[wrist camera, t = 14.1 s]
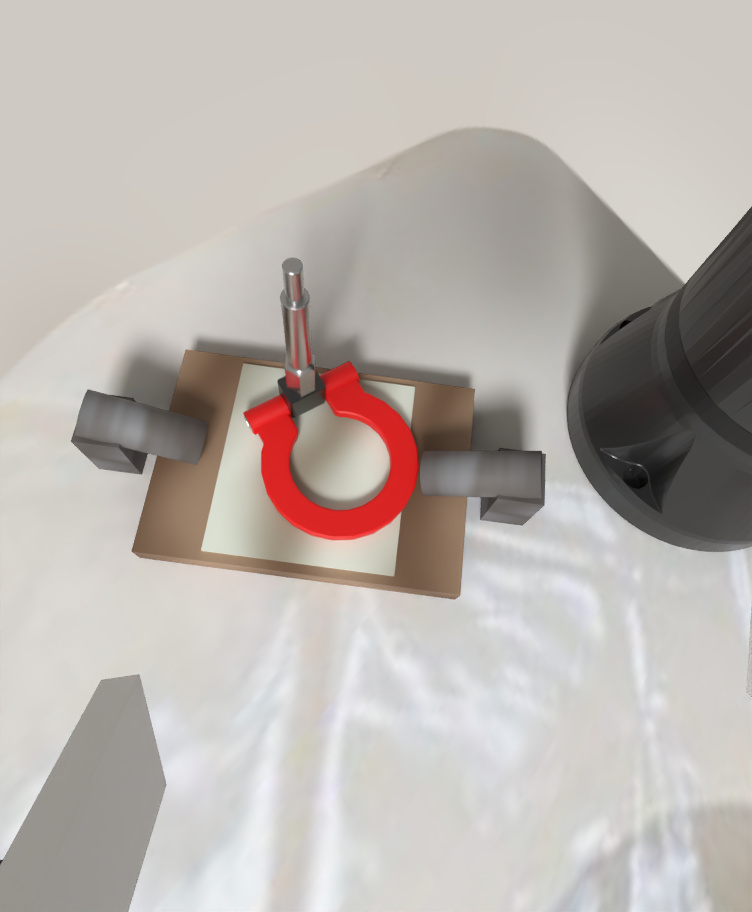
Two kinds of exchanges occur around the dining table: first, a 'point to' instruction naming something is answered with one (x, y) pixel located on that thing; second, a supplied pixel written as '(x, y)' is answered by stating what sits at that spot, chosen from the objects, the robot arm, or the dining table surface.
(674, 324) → the robot arm
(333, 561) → the shaft stand
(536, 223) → the dining table surface
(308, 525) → the tow hook
